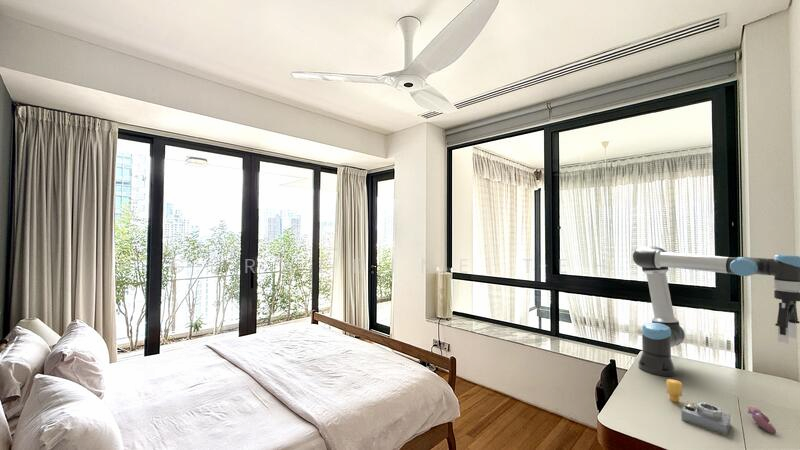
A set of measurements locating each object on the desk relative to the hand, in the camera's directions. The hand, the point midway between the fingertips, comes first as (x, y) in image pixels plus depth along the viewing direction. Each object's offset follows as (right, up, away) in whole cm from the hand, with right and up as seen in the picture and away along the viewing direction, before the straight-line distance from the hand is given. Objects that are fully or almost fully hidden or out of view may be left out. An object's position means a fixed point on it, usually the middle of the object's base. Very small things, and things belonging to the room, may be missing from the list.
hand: (787, 340), depth 137 cm
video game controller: (-33, -25, -19) cm, 46 cm away
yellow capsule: (-51, -25, -2) cm, 57 cm away
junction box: (-52, -25, -18) cm, 60 cm away
